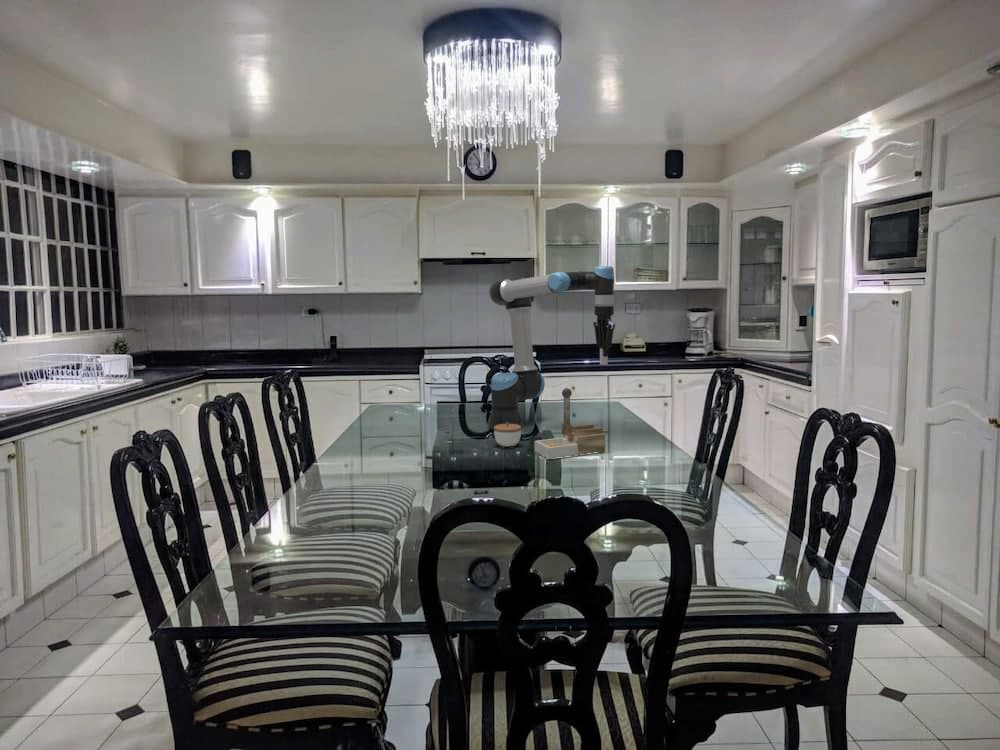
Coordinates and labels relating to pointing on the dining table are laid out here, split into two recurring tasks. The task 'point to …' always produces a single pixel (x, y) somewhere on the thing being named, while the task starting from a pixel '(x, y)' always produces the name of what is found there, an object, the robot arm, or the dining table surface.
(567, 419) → the plunger
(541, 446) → the tray
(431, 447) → the dining table surface
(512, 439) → the lidded jar
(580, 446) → the launcher
